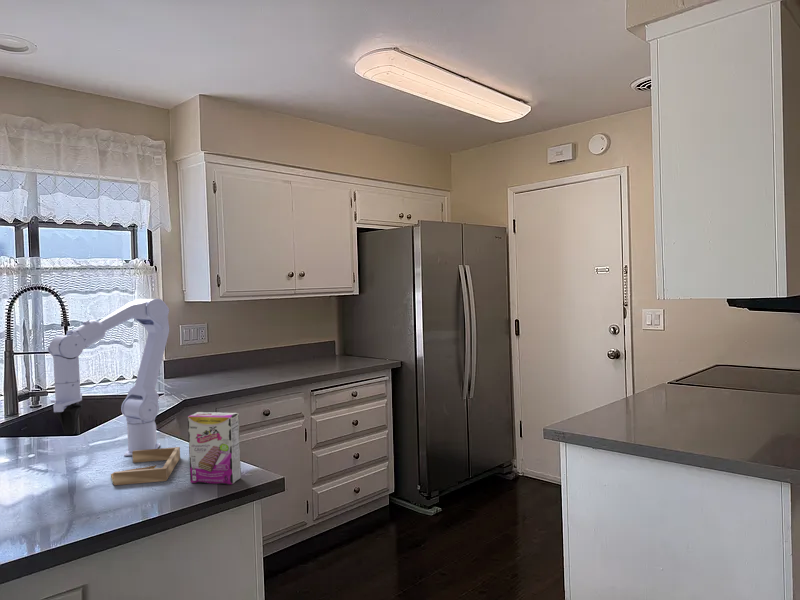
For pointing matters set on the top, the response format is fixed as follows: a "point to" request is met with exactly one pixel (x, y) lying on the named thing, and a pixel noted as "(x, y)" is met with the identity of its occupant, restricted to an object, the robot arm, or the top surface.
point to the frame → (149, 474)
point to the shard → (136, 469)
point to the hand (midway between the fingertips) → (70, 433)
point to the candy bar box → (214, 447)
